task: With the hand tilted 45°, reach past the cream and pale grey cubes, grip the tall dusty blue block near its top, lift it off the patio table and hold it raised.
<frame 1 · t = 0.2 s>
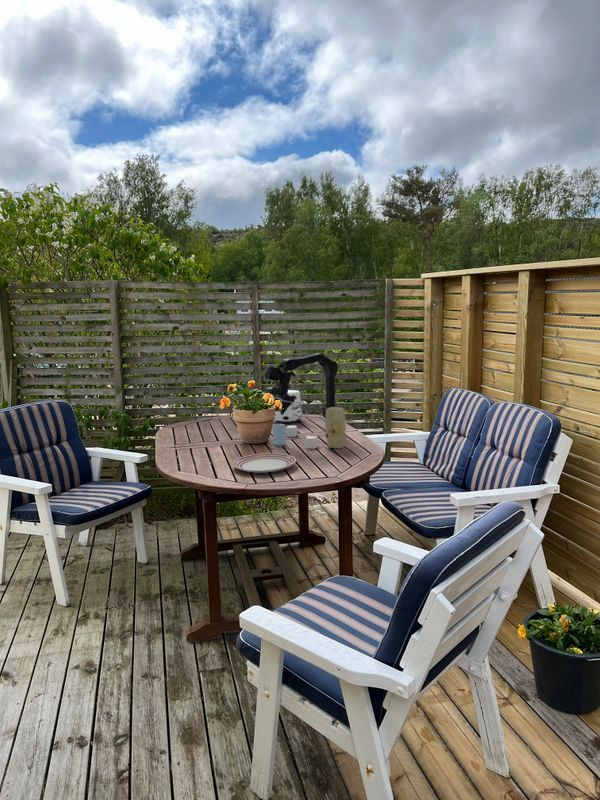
hand: (277, 413, 298), 15 cm above the table, tool tilted 15°, fingers open, 9 cm apart
dusty blue block: (279, 444, 296), on the table
cream cube: (311, 447, 289), on the table
dinner plate: (264, 468, 255), on the table
food model: (335, 448, 287), on the table
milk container: (288, 421, 353), on the table
pale grey cube: (291, 435, 315), on the table
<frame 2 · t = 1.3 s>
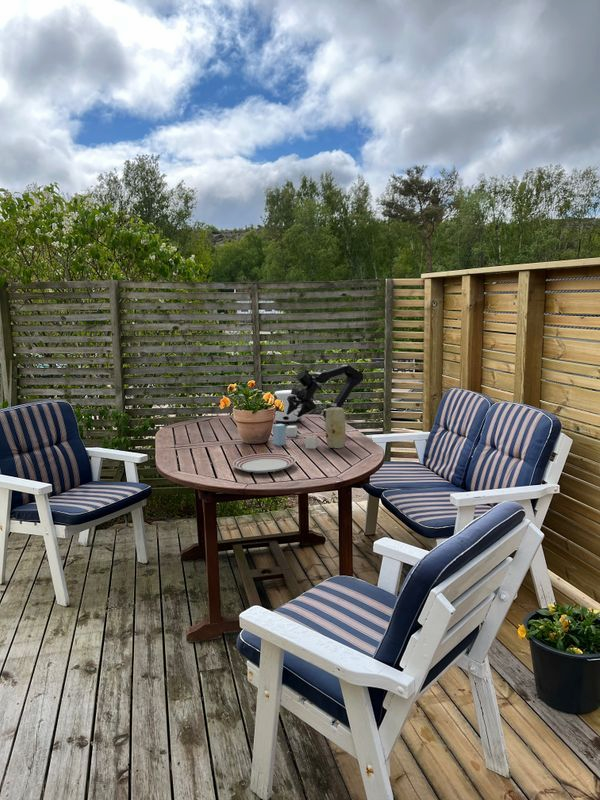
hand: (292, 415, 299), 14 cm above the table, tool tilted 45°, fingers open, 9 cm apart
nothing on the table moved.
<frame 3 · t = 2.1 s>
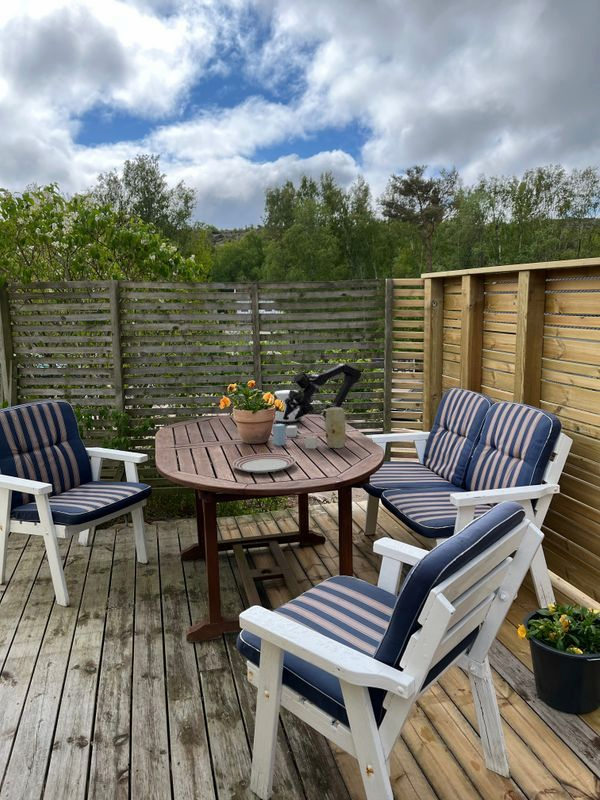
hand: (289, 418, 298), 13 cm above the table, tool tilted 45°, fingers open, 9 cm apart
nothing on the table moved.
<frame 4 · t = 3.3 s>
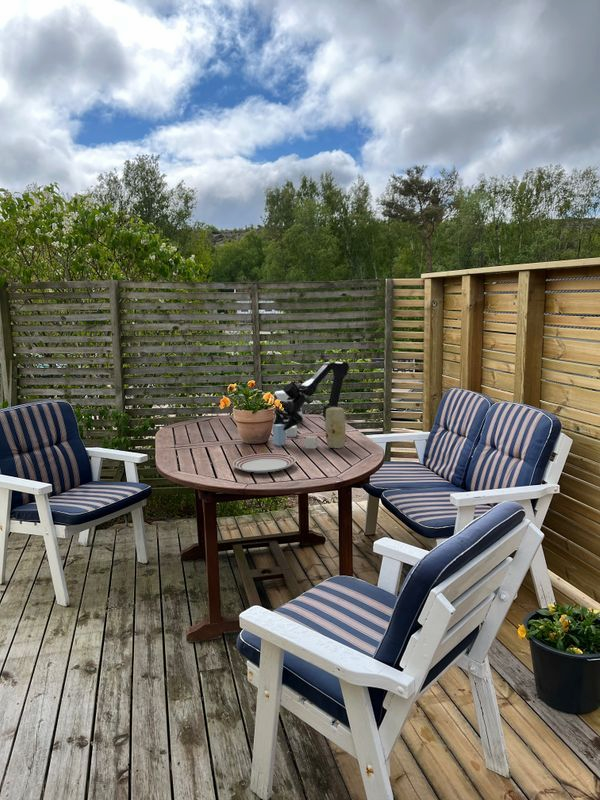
hand: (278, 428, 295), 8 cm above the table, tool tilted 45°, fingers open, 9 cm apart
nothing on the table moved.
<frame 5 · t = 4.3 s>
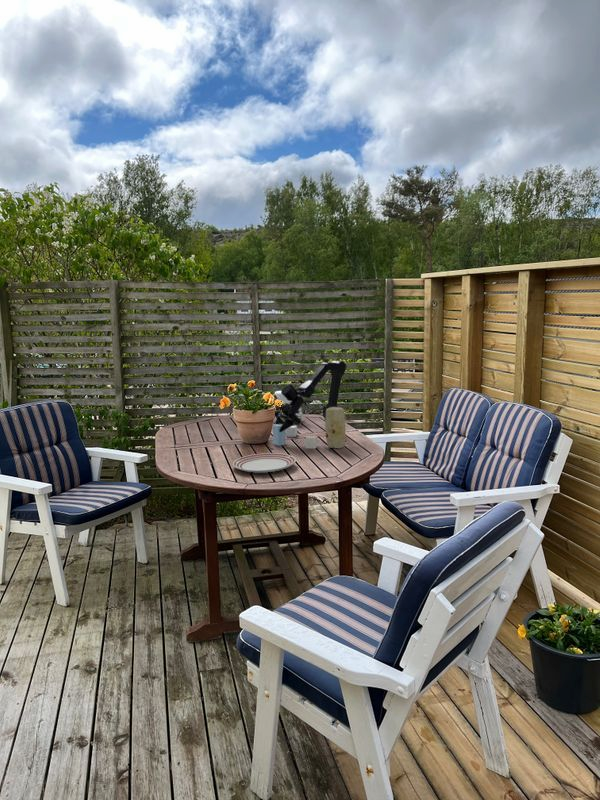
hand: (276, 430, 294), 7 cm above the table, tool tilted 45°, fingers closed on dusty blue block, 4 cm apart
dusty blue block: (279, 444, 296), on the table, touching gripper
everything else where it was.
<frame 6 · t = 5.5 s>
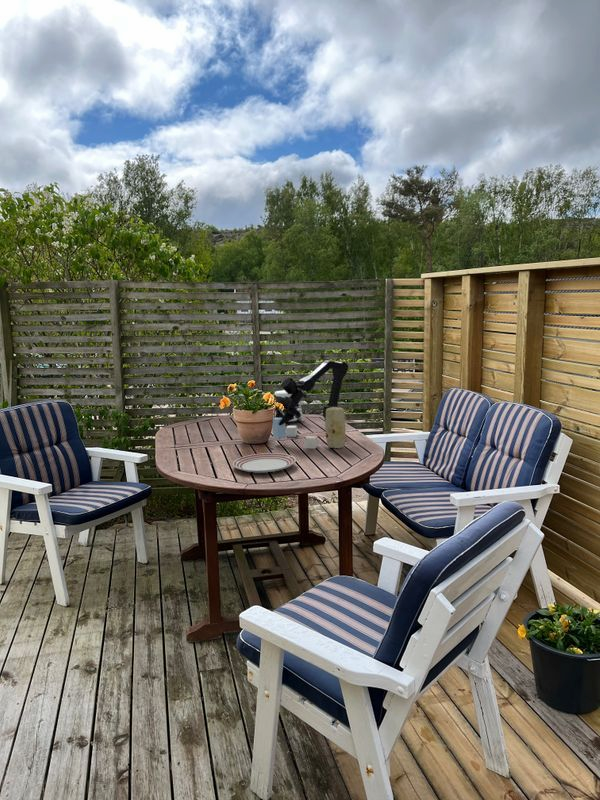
hand: (276, 424, 294), 10 cm above the table, tool tilted 45°, fingers closed on dusty blue block, 4 cm apart
dusty blue block: (279, 437, 295), point 3 cm above the table, touching gripper
everything else where it was.
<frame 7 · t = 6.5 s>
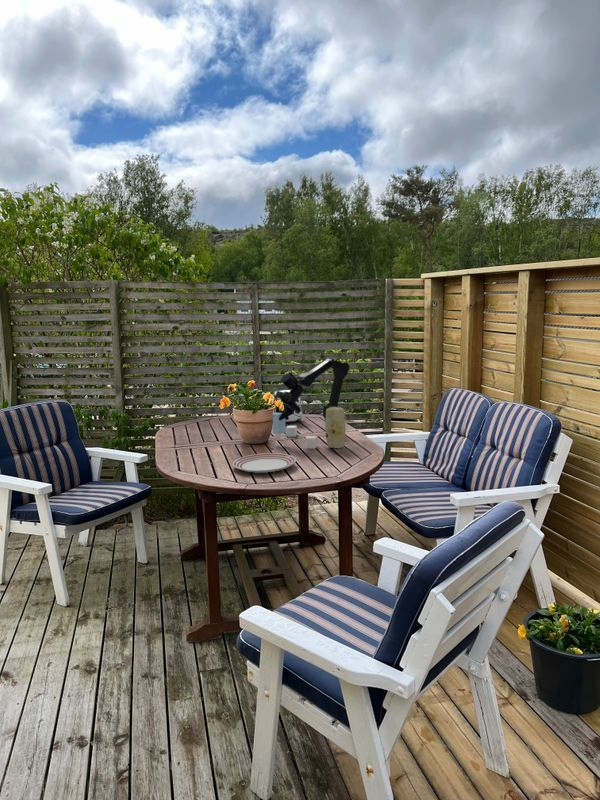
hand: (276, 419, 293), 13 cm above the table, tool tilted 45°, fingers closed on dusty blue block, 4 cm apart
dusty blue block: (279, 432, 295), point 6 cm above the table, touching gripper
everything else where it was.
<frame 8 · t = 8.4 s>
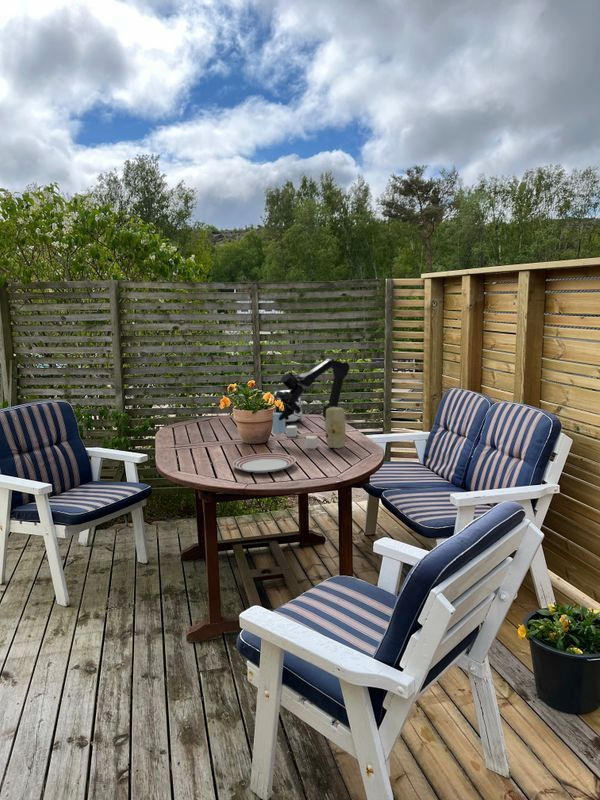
hand: (276, 419, 293), 13 cm above the table, tool tilted 45°, fingers closed on dusty blue block, 4 cm apart
dusty blue block: (279, 432, 295), point 6 cm above the table, touching gripper
everything else where it was.
at the end: the gripper is holding dusty blue block; dusty blue block point 5.9 cm above the table; cream cube moved 0.1 cm from its start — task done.
